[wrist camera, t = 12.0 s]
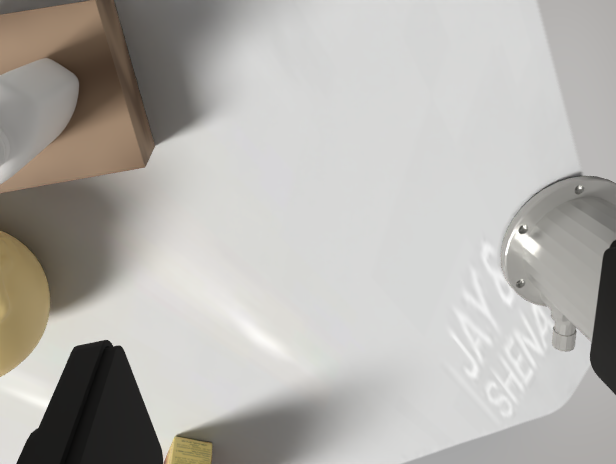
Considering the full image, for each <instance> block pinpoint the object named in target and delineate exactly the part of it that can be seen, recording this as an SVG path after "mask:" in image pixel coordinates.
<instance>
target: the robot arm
mask: <svg viewBox="0 0 616 464" xmlns="http://www.w3.org/2000/svg"><path fill="white" fill-rule="evenodd" d="M501 268H502V271H503V274H504V277H505V279H506V280H507V282H508V284H509V285H510V286H511V288H512V289H513V290H514V291H515V292H516V293H517V294H518V295H519V296H521V297H522V298H523V299H525V300H526V301H529V302H531V303H533V304H536V305H541V306H546V307H548V308H549V309H550V310H551V317H552V319H553V320H554V321H555V326H554V327H553V337H552V345H553V347H554V348H556V349H558V350H560V351H565V352H566V351H571V350H573V349H574V347H575V340H576V328H577V329H578V330H579V331H580V332H581V333H583V334H584V335H585V336H586V337H587V338H588V339H589V340H590V341H591V342H592V344H591V352H590V361H591V365H592V368H593V370H594V371H595V373H596V374H597V375H598V377H599V378H601V380H602V381H603V382H604V383H605V384H606V385H607V386H608V387H609V388H610V389H611V390H612V391H613V392H614V394H615V395H616V183H614V182H612V181H610V180H607V179H604V178H600V177H594V176H580V177H573V178H569V179H566V180H563V181H559V182H557V183H555V184H553V185H551V186H549V187H547V188H545V189H543V190H542V191H541V192H539V193H538V194H536V195H535V196H534V197H532V198H531V199H530V200H529V201H528V202H527V203H526V204H525V205H524V206H523V207H522V208H521V209H520V210H519V212H518V213H517V214H516V216H515V217H514V218H513V220H512V222H511V223H510V225H509V227H508V229H507V231H506V234H505V237H504V240H503V243H502V248H501ZM16 464H163V455H162V449H161V446H160V443H159V441H158V438H157V435H156V433H155V430H154V428H153V425H152V422H151V420H150V417H149V414H148V412H147V409H146V407H145V404H144V401H143V399H142V396H141V393H140V391H139V388H138V386H137V383H136V380H135V378H134V375H133V373H132V370H131V367H130V365H129V362H128V359H127V357H126V354H125V352H124V350H123V348H122V347H121V346H114V347H113V345H112V343H111V342H110V341H108V340H104V341H99V342H94V343H89V344H83V345H78V346H76V347H74V349H73V350H72V352H71V354H70V357H69V359H68V361H67V364H66V366H65V368H64V370H63V373H62V375H61V377H60V380H59V382H58V384H57V387H56V389H55V391H54V393H53V396H52V398H51V400H50V403H49V405H48V407H47V410H46V412H45V414H44V417H43V419H42V421H41V423H40V426H39V428H38V429H36V430H35V431H33V432H32V433H31V435H30V436H29V438H28V439H27V441H26V443H25V446H24V448H23V450H22V452H21V455H20V457H19V459H18V461H17V463H16Z"/></svg>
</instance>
